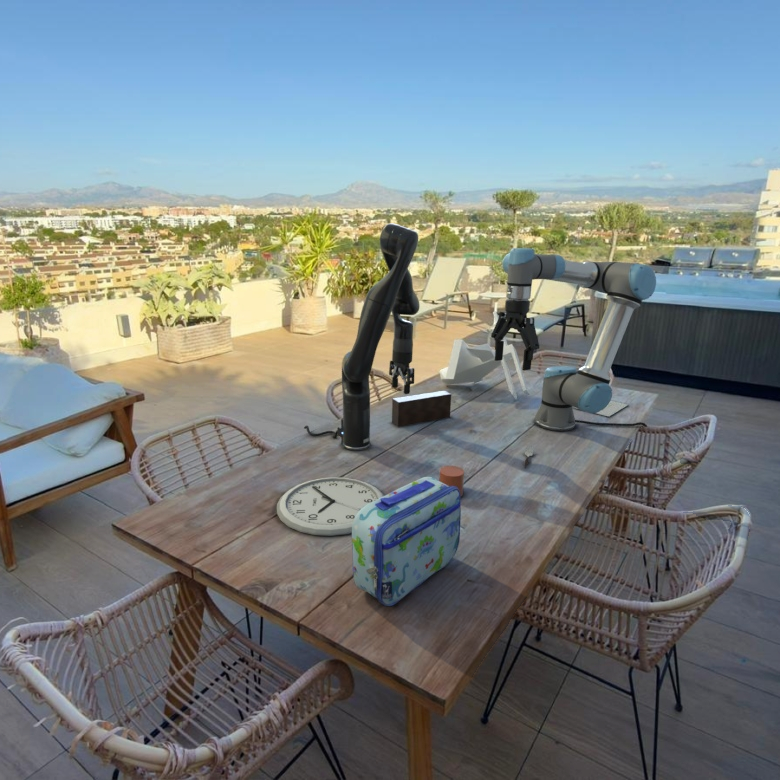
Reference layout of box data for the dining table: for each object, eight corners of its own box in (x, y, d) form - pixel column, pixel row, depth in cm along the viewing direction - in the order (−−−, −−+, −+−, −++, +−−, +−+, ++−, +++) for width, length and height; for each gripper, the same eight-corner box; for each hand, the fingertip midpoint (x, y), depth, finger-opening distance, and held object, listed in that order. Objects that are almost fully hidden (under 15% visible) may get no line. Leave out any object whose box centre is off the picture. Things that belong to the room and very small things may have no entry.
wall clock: (392, 527, 129) (268, 531, 127) (391, 533, 130) (269, 537, 127) (383, 473, 158) (282, 475, 155) (383, 478, 158) (282, 480, 156)
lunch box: (381, 619, 101) (382, 525, 95) (345, 592, 109) (344, 503, 102) (464, 563, 119) (469, 480, 113) (428, 543, 126) (432, 464, 120)
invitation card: (608, 416, 214) (573, 407, 224) (608, 416, 214) (573, 408, 224) (628, 404, 229) (594, 396, 238) (628, 405, 229) (594, 397, 238)
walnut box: (443, 413, 215) (444, 390, 212) (450, 417, 210) (451, 393, 207) (391, 422, 204) (392, 398, 201) (398, 427, 199) (398, 402, 196)
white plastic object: (461, 429, 252) (437, 405, 227) (444, 352, 274) (420, 323, 250) (535, 404, 240) (518, 377, 215) (510, 326, 262) (492, 293, 237)
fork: (520, 469, 166) (521, 463, 165) (526, 450, 180) (526, 444, 180) (528, 470, 165) (529, 464, 164) (533, 451, 179) (534, 445, 179)
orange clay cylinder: (462, 487, 154) (464, 466, 152) (463, 499, 147) (464, 477, 145) (438, 486, 154) (439, 464, 152) (438, 497, 148) (439, 475, 146)
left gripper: (384, 346, 199) (382, 386, 204) (404, 354, 187) (402, 397, 192) (401, 344, 203) (399, 384, 208) (421, 352, 191) (419, 394, 196)
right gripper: (483, 295, 172) (479, 357, 179) (537, 305, 151) (529, 375, 158) (501, 294, 176) (496, 355, 182) (556, 303, 155) (548, 372, 161)
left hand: (400, 390), depth 200 cm, fingers open, 8 cm apart
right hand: (512, 365), depth 170 cm, fingers open, 13 cm apart
